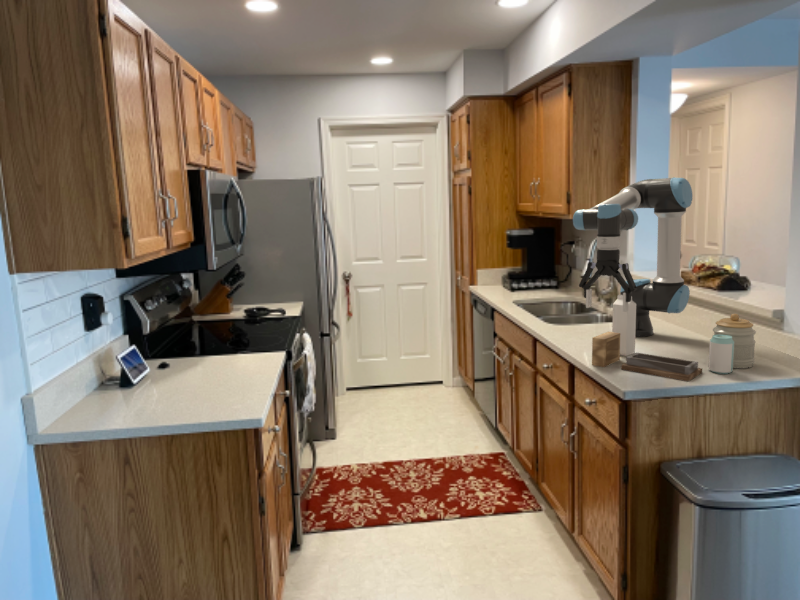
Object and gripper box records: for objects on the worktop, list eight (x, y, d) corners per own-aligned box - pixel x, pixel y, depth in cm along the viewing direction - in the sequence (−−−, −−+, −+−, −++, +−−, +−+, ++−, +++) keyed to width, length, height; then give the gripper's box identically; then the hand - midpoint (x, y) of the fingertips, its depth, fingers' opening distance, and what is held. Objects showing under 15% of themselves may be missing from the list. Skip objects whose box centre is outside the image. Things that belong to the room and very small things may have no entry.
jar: (763, 366, 200) (766, 315, 197) (732, 370, 196) (735, 318, 193) (731, 357, 212) (734, 309, 209) (702, 361, 209) (704, 312, 206)
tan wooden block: (591, 365, 209) (592, 337, 207) (607, 358, 217) (608, 331, 216) (604, 367, 206) (605, 339, 204) (620, 360, 214) (620, 333, 212)
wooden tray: (636, 361, 211) (636, 351, 210) (702, 372, 195) (702, 361, 195) (621, 369, 202) (621, 358, 202) (688, 381, 187) (689, 369, 186)
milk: (625, 356, 219) (627, 297, 215) (611, 353, 224) (612, 295, 220) (635, 353, 223) (636, 295, 219) (620, 350, 228) (622, 293, 224)
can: (704, 371, 197) (706, 336, 195) (714, 367, 201) (716, 332, 199) (726, 376, 191) (728, 339, 189) (736, 371, 195) (738, 336, 193)
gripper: (570, 248, 211) (569, 307, 214) (639, 250, 194) (637, 314, 197) (580, 247, 216) (579, 304, 220) (648, 249, 199) (646, 311, 202)
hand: (606, 309), depth 208 cm, fingers open, 13 cm apart
